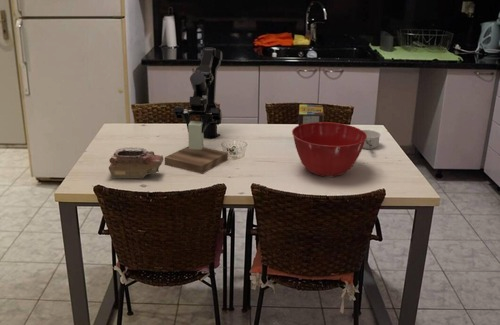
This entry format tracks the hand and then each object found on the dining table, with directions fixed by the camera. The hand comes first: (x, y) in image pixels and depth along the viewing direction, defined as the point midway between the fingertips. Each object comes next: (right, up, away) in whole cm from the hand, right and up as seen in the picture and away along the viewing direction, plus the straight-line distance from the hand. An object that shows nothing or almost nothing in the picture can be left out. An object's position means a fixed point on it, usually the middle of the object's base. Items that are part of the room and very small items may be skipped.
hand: (195, 132), depth 229 cm
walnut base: (0, -11, +6) cm, 13 cm away
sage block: (0, -6, +4) cm, 7 cm away
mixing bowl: (+51, -15, -1) cm, 54 cm away
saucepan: (+72, -6, +23) cm, 76 cm away
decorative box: (-21, -17, -7) cm, 28 cm away
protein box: (+48, -3, +29) cm, 56 cm away
